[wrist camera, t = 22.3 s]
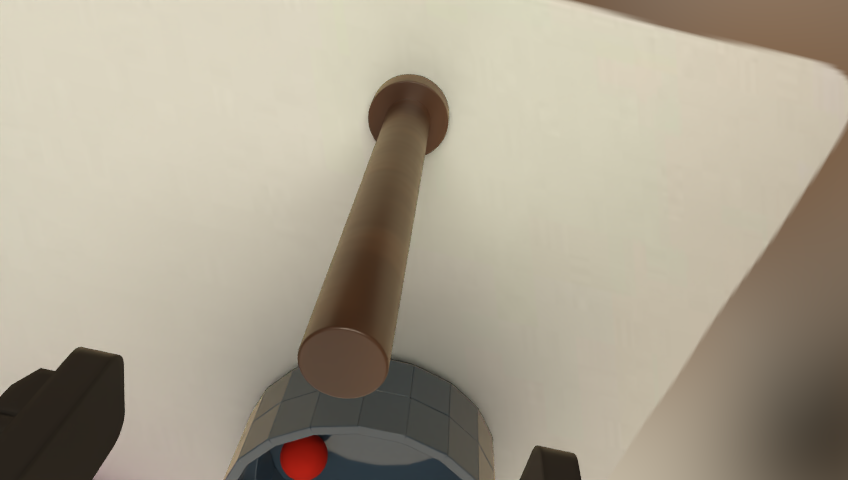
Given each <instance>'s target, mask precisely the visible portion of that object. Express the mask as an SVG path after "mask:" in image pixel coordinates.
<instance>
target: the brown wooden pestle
mask: <svg viewBox="0 0 848 480" xmlns="http://www.w3.org/2000/svg"><path fill="white" fill-rule="evenodd" d="M368 121H369V127H370V131H371V133H372V135H373V137H374V139H375V140H376V144H375V147H374V149H373V152H372V155H371V157H370V160H369V163H368V165H367V168H366V171H365V173H364V176H363V179H362V181H361V184H360V187H359V189H358V192H357V195H356V197H355V200H354V203H353V205H352V208H351V211H350V214H349V216H348V219H347V222H346V224H345V227H344V230H343V232H342V235H341V238H340V240H339V243H338V246H337V248H336V251H335V254H334V256H333V259H332V262H331V264H330V267H329V270H328V272H327V275H326V278H325V280H324V283H323V286H322V288H321V291H320V294H319V296H318V299H317V302H316V305H315V307H314V310H313V313H312V315H311V318H310V321H309V323H308V326H307V329H306V331H305V334H304V337H303V339H302V342H301V345H300V347H299V351H298V365H299V368H300V371H301V373H302V375H303V376H304V378H305V379H306V380H307V382H308V383H309V384H310V385H311V386H313V387H314V388H315V389H317V390H319V391H320V392H322V393H324V394H327V395H329V396H333V397H337V398H346V399H350V398H359V397H363V396H366V395H368V394H370V393H372V392H374V391H375V390H376V389H378V388H379V387H380V386H381V385H382V383H383V382H384V381H385V379H386V377H387V374H388V370H389V365H390V359H391V353H392V347H393V341H394V335H395V329H396V323H397V317H398V311H399V305H400V300H401V294H402V288H403V282H404V276H405V270H406V264H407V258H408V252H409V246H410V240H411V235H412V229H413V223H414V217H415V211H416V205H417V199H418V193H419V187H420V181H421V175H422V170H423V164H424V158H425V155H426V154H428V153H430V152H432V151H433V150H434V149H436V148H437V147H438V146H439V145H440V143H441V142H442V140H443V139H444V137H445V135H446V132H447V128H448V121H449V107H448V103H447V100H446V97H445V96H444V94H443V92H442V91H441V89H440V88H439V87H438V86H437V85H436V84H435V83H433V82H432V81H430V80H429V79H427V78H425V77H422V76H419V75H413V74H406V75H400V76H396V77H394V78H392V79H390V80H388V81H387V82H385V83H384V84H383V85H382V86H381V87H380V88H379V90H378V91H377V93H376V95H375V97H374V99H373V101H372V103H371V106H370V109H369V115H368Z"/></svg>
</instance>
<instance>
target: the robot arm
mask: <svg viewBox="0 0 848 480" xmlns="http://www.w3.org/2000/svg"><path fill="white" fill-rule="evenodd" d="M124 415H125V403H124V362H123V358H122V356H120V355H117V354H112V353H107V352H103V351H98V350H93V349H88V348H84V347H78V348H76V349H75V350H74V351H73V352H72V353H71V354H70V355H69V356H68V357H67V358H66V359H65V361H64V362H63V363H62V364H61V365H60V366H59V367H58V369H57V370H56V371H52V370H47V369H42V368H40V369H38V370H37V371H35V372H33V373H31V374H30V375H28V376H26V377H24V378H23V379H21V380H19V381H17V382H16V383H14V384H12V385H11V386H10V387H9V388H8V389H7V390H6V391H5V392H4V393H3V394H2V395H1V397H0V480H92V479H93V477H94V476H95V474H96V473H97V471H98V470H99V468H100V467H101V465H102V464H103V462H104V460H105V459H106V457H107V456H108V454H109V453H110V451H111V450H112V448H113V447H114V445H115V443H116V441H117V439H118V437H119V434H120V432H121V429H122V425H123V421H124ZM520 480H581V476H580V470H579V464H578V460H577V457H576V455H575V454H574V453H570V452H565V451H561V450H556V449H551V448H547V447H542V446H535V447H534V449H533V450H532V452H531V455H530V457H529V459H528V462H527V464H526V467H525V469H524V471H523V474H522V476H521V478H520Z"/></svg>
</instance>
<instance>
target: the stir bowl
mask: <svg viewBox="0 0 848 480" xmlns="http://www.w3.org/2000/svg"><path fill="white" fill-rule="evenodd" d="M313 435H318V436H319V437H320V438H321V439H322V440H323V441H324V443H325V445H326V447H327V451H328V459H327V463H326V466H325V468H324V469H323V471H322V472H321V473H320V474H319V475H318V476H317V477H315V478H313V479H311V480H495V472H494V454H493V438H492V435H491V433H490V431H489V429H488V427H487V425H486V423H485V421H484V419H483V417H482V415H481V413H480V411H479V409H478V408H477V407H476V406H475V405H474V404H473V403H472V402H471V401H470V400H469V399H468V398H467V397H466V396H465V395H464V394H462V393H461V392H460V391H459V390H458V389H457V388H456V387H455V386H454V385H453V384H452V383H450V382H448V381H446V380H444V379H442V378H440V377H438V376H436V375H434V374H432V373H430V372H428V371H426V370H424V369H422V368H420V367H418V366H416V365H413V364H409V363H404V362H399V361H395V360H390V365H389V370H388V374H387V377H386V379H385V381H384V382H383V383H382V385H381V386H380V387H379V388H378V389H376V390H375V391H374V392H372V393H370V394H368V395H366V396H363V397H359V398H350V399H346V398H337V397H333V396H329V395H327V394H324V393H322V392H320V391H319V390H317V389H315V388H314V387H313V386H311V385H310V384H309V383H308V382H307V380H306V379H305V378H304V376H303V375H302V373H301V371H300V368H299V367H298V368H295V369H293V370H292V371H291V372H289V373H288V374H286V375H285V376H284V377H282V378H281V379H280V380H278V381H277V382H275V383H274V384H273V385H271V386H270V387H269V388H267V389H266V390H265V392H264V394H263V395H262V397H261V398H260V400H259V402H258V403H257V405H256V407H255V408H254V410H253V411H252V413H251V415H250V417H249V420H248V422H247V424H246V427H245V429H244V432H243V434H242V436H241V439H240V441H239V443H238V446H237V448H236V451H235V453H234V455H233V458H232V460H231V463H230V465H229V467H228V470H227V472H226V474H225V477H224V479H223V480H294V479H292V478H290V477H289V476H288V475H287V474H286V473H285V472H284V470H283V469H282V466H281V462H280V453H281V449H282V447H283V445H284V444H285V443H288V442H292V441H295V440H299V439H302V438H306V437H309V436H313Z"/></svg>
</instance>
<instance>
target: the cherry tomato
mask: <svg viewBox="0 0 848 480" xmlns="http://www.w3.org/2000/svg"><path fill="white" fill-rule="evenodd" d="M327 459H328V451H327V447H326V445H325V443H324V441H323V440H322V439H321V438H320V437H319V436H318V435H313V436H309V437H306V438H302V439H299V440H295V441H292V442H288V443H285V444H284V445H283V447H282V449H281V453H280V462H281V466H282V469H283V470H284V472H285V473H286V474H287V475H288V476H289V477H290V478H292V479H294V480H311V479H313V478H315V477H317V476H318V475H319V474H320V473H321V472H322V471H323V469H324V468H325V466H326V463H327Z"/></svg>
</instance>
